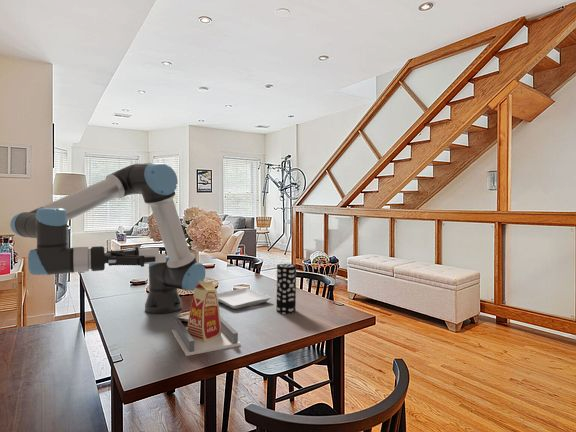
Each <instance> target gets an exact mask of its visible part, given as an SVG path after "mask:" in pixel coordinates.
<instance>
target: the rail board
mask: <svg viewBox="0 0 576 432" xmlns="http://www.w3.org/2000/svg"><path fill="white" fill-rule="evenodd" d="M220 322H221V335H220V336H218V337H216V338H214V339H212V340H210V341H207V342H205V343H204V342H201V341H198V340H195V339H193V338H192V337H191V335H190V334H189V332H188V331H187V328H188V326H185V325H184V324H183V322H182V321H181V320H180V319H179V318H178V319H174V329H171V330H172V331H171V332H172V334H173V336H174V338H175V339H176V341H177V344H178V345H179V346H180V348H181V350H182V351H183V353H184V355H185V356H186V357H188V356H193V355H198V354H203V353H209V352H214V351H221V350H225V349H230V348H235V347H239V346H241V345H242V343H241V342H240V340H239V336H238V335H239V332H237V331H236V330H235V329H234V328H233V327H232V326H231V325H230V324H229V323H228V322H227V321H226V320H225V319H224V318H223V317H222V316H221V315H220Z"/></svg>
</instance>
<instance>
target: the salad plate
mask: <svg viewBox="0 0 576 432" xmlns="http://www.w3.org/2000/svg"><path fill="white" fill-rule="evenodd" d="M217 297H218V303H221V304H223V305H225V306H228V307H230V308H231V309H235V310H237V309H243V308H247V307H252V306H256V305H260V304H264V303H265V302H268V301H270V299H271V298H272V297H271V296H270V295H267V294H265V293H262V292H260V291H256V290H254V289H252V288H249V287H244V288H243V287H242V288H238V289H233V290H229V291H222V292H219V293H218V292H217Z"/></svg>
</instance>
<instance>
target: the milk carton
mask: <svg viewBox="0 0 576 432" xmlns="http://www.w3.org/2000/svg"><path fill="white" fill-rule="evenodd" d="M217 294H218V292H217V289H216V288H215V285H214V284H213V280H209V281H199V284H198V285H197V286H196V287H195V290H194V291H193V296H192V301H191V304H190V310H189V315H188V316H189V317H188V321H187V327H188V328H187V331H188V332H189V334H190V335H191V337H192V338H193V339H195V340H198V341H201V342H204V343H205V342H207V341H210V340H212V339H214V338H216V337H218V336H220V335H221V322H220V316H221V314H220V313H221V312H220V304H219V301H218V297H217Z"/></svg>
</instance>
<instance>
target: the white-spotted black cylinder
mask: <svg viewBox="0 0 576 432" xmlns="http://www.w3.org/2000/svg"><path fill="white" fill-rule="evenodd" d="M296 290H297V265H296V264H292V263H280V264H277V265H276V313H279V314H283V315H291V314H295V312H296V308H297V307H296V305H297V304H296V303H297V300H296V299H297V297H296V296H297V291H296Z"/></svg>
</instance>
